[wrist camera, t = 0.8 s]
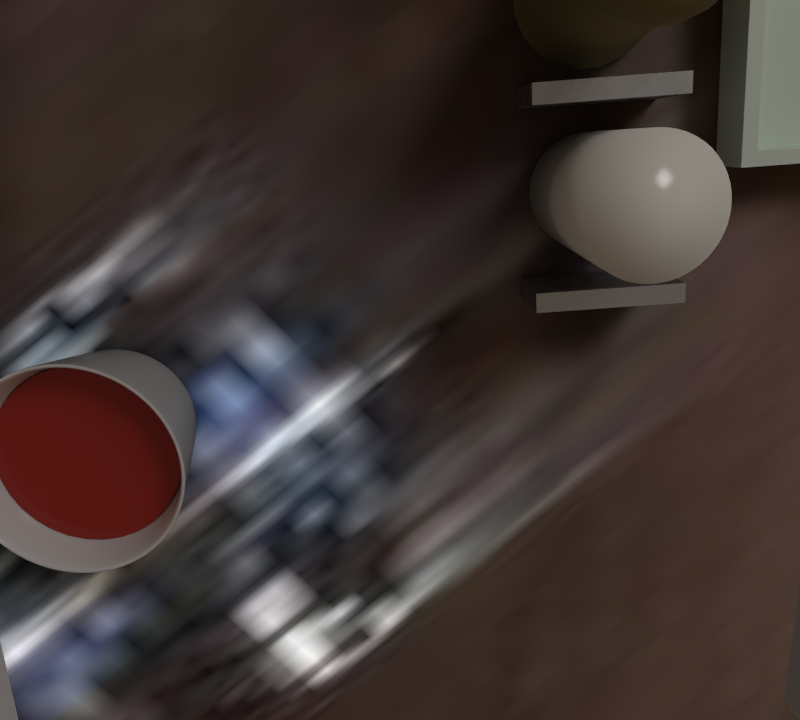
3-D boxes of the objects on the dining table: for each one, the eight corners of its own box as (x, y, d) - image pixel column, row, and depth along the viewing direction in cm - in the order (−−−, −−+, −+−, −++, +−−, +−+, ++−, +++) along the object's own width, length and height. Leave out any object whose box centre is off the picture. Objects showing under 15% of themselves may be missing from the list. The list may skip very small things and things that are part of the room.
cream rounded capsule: (527, 135, 32) (576, 133, 23) (643, 127, 32) (735, 121, 23) (530, 251, 34) (577, 289, 25) (641, 243, 33) (727, 278, 25)
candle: (-10, 400, 35) (-94, 454, 29) (130, 286, 34) (72, 318, 28) (121, 534, 37) (69, 611, 31) (258, 432, 36) (231, 492, 30)
